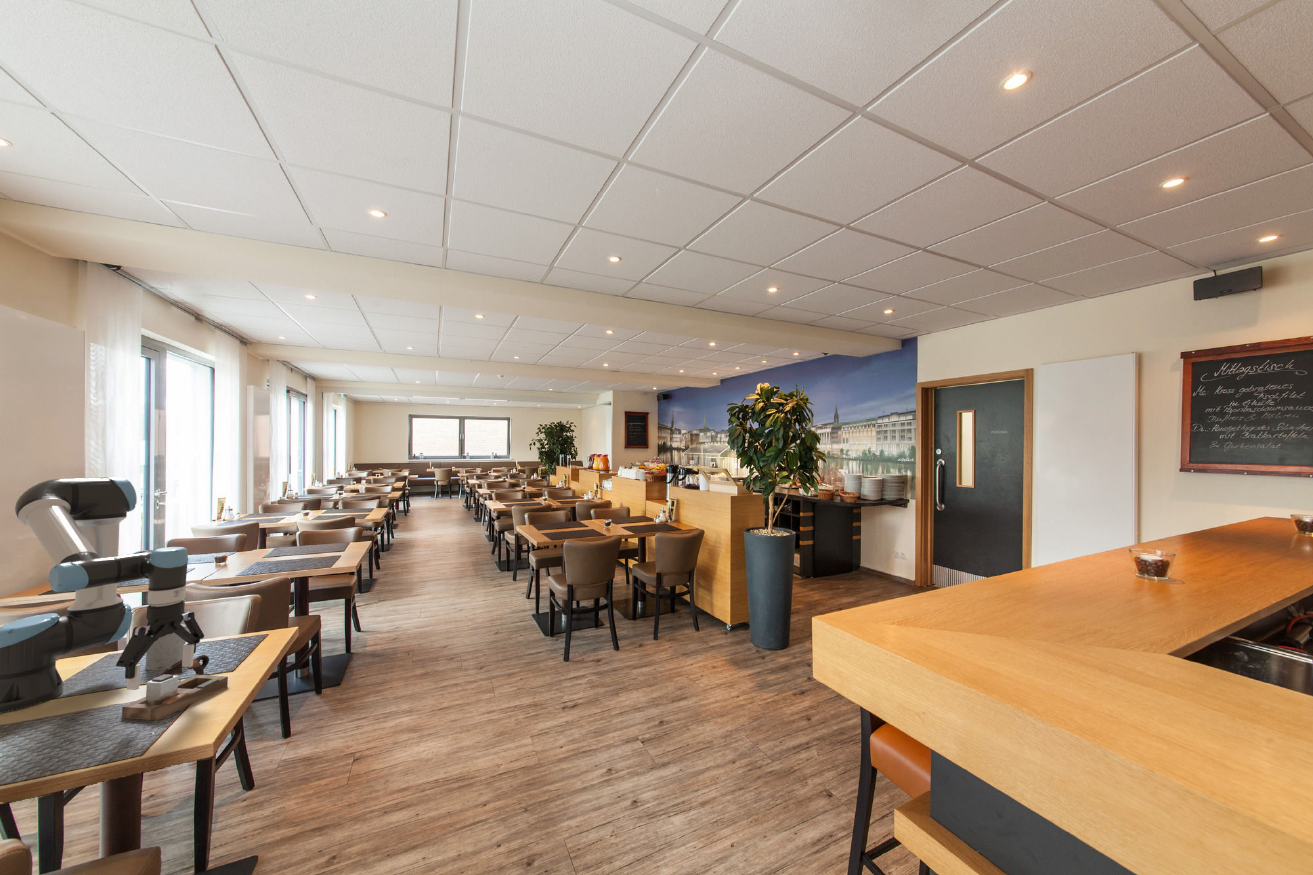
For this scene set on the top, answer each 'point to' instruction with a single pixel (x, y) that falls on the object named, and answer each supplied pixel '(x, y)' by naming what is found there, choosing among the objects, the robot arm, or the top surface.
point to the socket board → (176, 698)
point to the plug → (161, 689)
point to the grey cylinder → (165, 651)
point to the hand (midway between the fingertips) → (161, 677)
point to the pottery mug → (196, 667)
